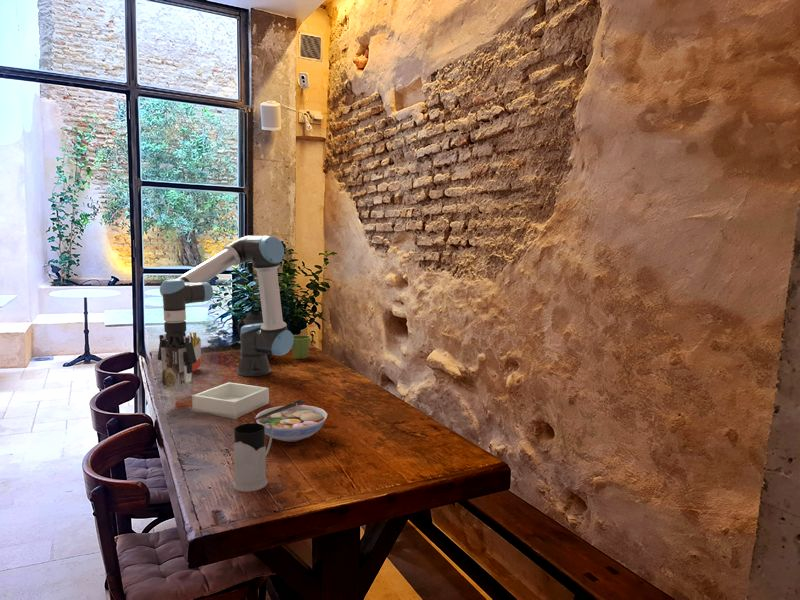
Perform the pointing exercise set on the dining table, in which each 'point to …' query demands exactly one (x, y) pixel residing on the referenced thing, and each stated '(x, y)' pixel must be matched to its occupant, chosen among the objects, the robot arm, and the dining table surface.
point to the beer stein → (251, 322)
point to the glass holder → (250, 456)
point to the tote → (230, 400)
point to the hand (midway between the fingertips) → (177, 380)
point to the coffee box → (174, 369)
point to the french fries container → (196, 350)
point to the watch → (159, 366)
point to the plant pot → (301, 346)
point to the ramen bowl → (292, 421)
